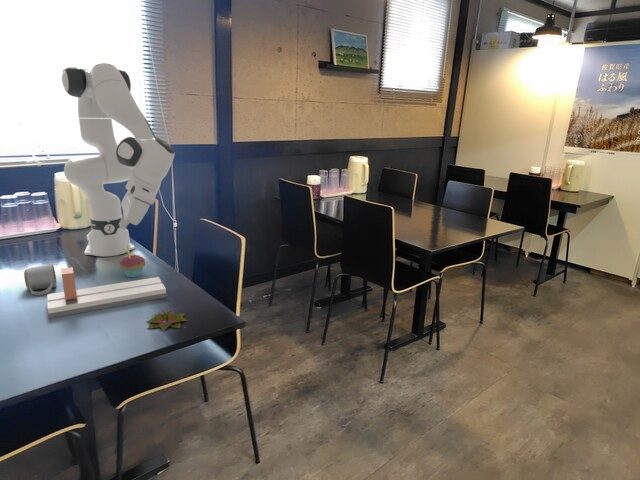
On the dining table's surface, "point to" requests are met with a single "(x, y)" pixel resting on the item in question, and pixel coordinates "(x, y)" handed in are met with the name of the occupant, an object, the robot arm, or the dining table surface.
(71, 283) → the fader
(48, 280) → the ceramic mug
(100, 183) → the robot arm
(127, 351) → the dining table surface
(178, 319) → the lily flower
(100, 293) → the white slider track base
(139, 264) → the cupcake
